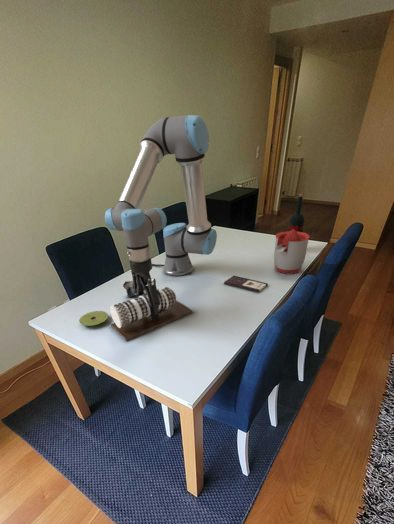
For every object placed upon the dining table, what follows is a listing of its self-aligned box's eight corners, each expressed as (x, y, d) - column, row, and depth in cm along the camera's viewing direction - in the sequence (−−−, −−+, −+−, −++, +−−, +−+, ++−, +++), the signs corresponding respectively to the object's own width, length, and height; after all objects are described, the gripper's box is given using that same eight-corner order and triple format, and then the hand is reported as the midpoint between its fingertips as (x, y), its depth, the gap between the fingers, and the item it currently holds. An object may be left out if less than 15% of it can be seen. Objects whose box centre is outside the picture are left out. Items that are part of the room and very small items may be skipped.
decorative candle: (120, 315, 100) (180, 293, 112) (108, 300, 104) (167, 280, 116) (122, 333, 107) (178, 311, 119) (110, 318, 111) (166, 297, 123)
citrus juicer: (263, 271, 150) (267, 230, 138) (284, 261, 158) (289, 222, 146) (289, 279, 140) (295, 237, 128) (309, 269, 149) (317, 228, 137)
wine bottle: (282, 253, 168) (290, 195, 150) (287, 248, 175) (295, 192, 157) (296, 255, 165) (305, 196, 147) (300, 249, 172) (310, 192, 154)
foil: (137, 302, 122) (122, 274, 126) (137, 315, 132) (122, 289, 135) (162, 293, 126) (147, 267, 130) (160, 306, 136) (145, 281, 140)
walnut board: (126, 341, 106) (125, 338, 105) (111, 326, 114) (110, 324, 113) (192, 312, 120) (192, 310, 119) (174, 301, 128) (174, 299, 127)
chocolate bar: (233, 275, 145) (267, 283, 136) (233, 277, 145) (267, 285, 136) (224, 282, 139) (258, 290, 130) (224, 283, 140) (258, 292, 131)
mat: (113, 323, 116) (111, 319, 115) (84, 332, 112) (83, 328, 110) (103, 312, 124) (102, 308, 123) (77, 320, 119) (75, 316, 118)
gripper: (117, 254, 106) (128, 308, 120) (145, 270, 93) (155, 329, 106) (135, 249, 110) (144, 302, 124) (165, 264, 96) (172, 322, 110)
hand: (149, 315), depth 115 cm, fingers closed on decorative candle, 8 cm apart
